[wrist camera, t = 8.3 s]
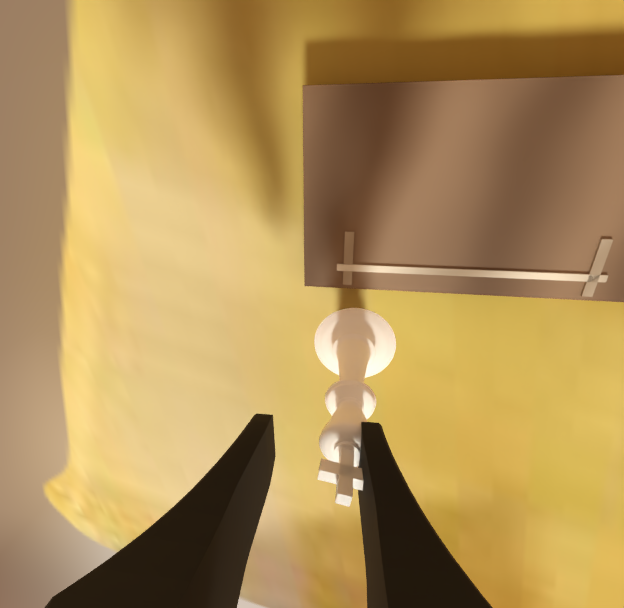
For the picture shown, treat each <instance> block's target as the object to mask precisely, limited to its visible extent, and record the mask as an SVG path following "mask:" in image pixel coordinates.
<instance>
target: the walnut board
mask: <svg viewBox="0 0 624 608" xmlns="http://www.w3.org/2000/svg"><path fill="white" fill-rule="evenodd" d="M303 156H304V266H305V286H316V287H336V288H355V289H375V290H395V291H415V292H434V293H454V294H474V295H493V296H513V297H533V298H553V299H572V300H592V301H612V302H624V75H607V76H576V77H546V78H516V79H485V80H455V81H425V82H394V83H364V84H334V85H303Z"/></svg>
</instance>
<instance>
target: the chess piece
mask: <svg viewBox="0 0 624 608" xmlns="http://www.w3.org/2000/svg"><path fill="white" fill-rule="evenodd" d="M314 343H315V350H316V353H317V355H318V357H319V359H320V361H321V362H322V363H323V364H324V365H325V366H326V367H327V368H328V369H329V370H331V371H332V372H334V373H336V374H338V375H339V380H340V381H337V382H335V383H334V384H332V385H331V386H330V387H329V388H328V390H327V392H326V395H325V403H326V406H327V409H328V411H329V412H330V414H331V415H332V418H331V419H330V421H329V422H328V423H327V424H326V426H325V427H324V429H323V431H322V433H321V435H320V439H319V445H320V449H321V451H322V453H323V455H324V456H325V457H326V458H327V459H328V460H325V459H321V462H320V467H319V472H318V480H322V481H326V482H330V483H334V484H337V487H336V498H335V503H337V504H341V505H345V506H350V503H351V500H352V494H353V488H354V489H358V490H362V491H363V474H362V468H358V467H359V461H360V449H361V422H367V420H366V419H368V418H369V417H370V416H371V415H372V413H373V411H374V409H375V407H376V397H375V394H374V392H373V391H372V389H371V388H370V387H369V386H367V385H366V384H364V379H365V378H366V377H369V376H372V375H375V374H377V373H379V372H380V371H382V370H383V369H384V368H385V367H386V366H387V365H388V364H389V363H390V362H391V360H392V358H393V356H394V353H395V349H396V340H395V335H394V332H393V330H392V328H391V327H390V325H389V324H388V323H387V322H386V320H384V319H383V318H382V317H381V316H379V315H378V314H376V313H374V312H372V311H369V310H366V309H362V308H346V309H342V310H339V311H336V312H334V313H332V314H330V315H329V316H328V317H326V318H325V319H324V320H323V321H322V322H321V324H320V325H319V327H318V329H317V331H316V334H315V341H314Z"/></svg>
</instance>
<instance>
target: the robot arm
mask: <svg viewBox="0 0 624 608" xmlns="http://www.w3.org/2000/svg"><path fill="white" fill-rule="evenodd" d="M274 461H275V442H274V426H273V415H267V414H256V415H254V416H253V418H252V419H251V421H250V422H249V423H248V425H247V426H246V427H245V429H244V430H243V431H242V433H241V434H240V435H239V436H238V438H237V439H236V440H235V442H234V443H233V444H232V445H231V446H230V448H229V449H228V450H227V451H226V452H225V454H224V455H223V456H222V457H221V458H220V460H219V461H218V462H217V463H216V464H215V465H214V466H213V467H212V468H211V470H210V471H209V472H208V473H207V474H206V475H205V476H204V477H203V478H202V479H201V480H200V481H199V482H198V483H197V484H196V485H195V486H194V488H193V489H192V490H191V491H190V492H188V493H187V494H186V495H185V496H184V497H183V498H182V499H181V500H180V501H179V502H178V503H177V504H176V505H175V506H174V507H173V508H171V509H170V510H169V511H168V512H167V513H166V514H165V515H163V516H162V517H161V518H160V519H159V520H158V521H157V522H155V523H154V524H153V525H152V526H151V527H149V528H148V529H147V530H146V531H145V532H143V533H142V534H141V535H140V536H138V537H137V538H136V539H134V540H133V541H132V542H131V543H129V544H128V545H127V546H125V547H124V548H123V549H121V550H120V551H119V552H117V553H116V554H115V555H113V556H112V557H111V558H110V559H108V560H107V561H105V562H104V563H103V564H101V565H100V566H98V567H97V568H95V569H94V570H93V571H91V572H90V573H88V574H87V575H85V576H84V577H82V578H81V579H79V580H78V581H76V582H75V583H73V584H72V585H70V586H69V587H67V588H66V589H64V590H63V591H61V592H60V593H58V594H57V595H55V596H54V597H52V599H51V600H50V601H49V603H48V604H47V605H46V607H45V608H237V604H238V599H239V595H240V590H241V585H242V581H243V576H244V572H245V567H246V564H247V560H248V556H249V552H250V549H251V546H252V542H253V539H254V536H255V533H256V529H257V526H258V523H259V519H260V516H261V513H262V510H263V506H264V503H265V500H266V496H267V493H268V489H269V486H270V482H271V477H272V472H273V466H274ZM358 468H362V474H363V491H362V490H358V495H359V505H360V515H361V525H362V535H363V545H364V555H365V564H366V579H367V608H492V606H491V605H490V604H489V603H488V602H487V600H486V599H485V598H484V597H483V596H482V594H481V593H480V592H479V590H478V589H477V588H476V587H475V585H474V584H473V583H472V581H471V580H470V579H469V577H468V576H467V575H466V573H465V572H464V571H463V569H462V568H461V567H460V566H459V564H458V563H457V562H456V560H455V559H454V558H453V556H452V555H451V553H450V552H449V551H448V549H447V548H446V546H445V545H444V543H443V542H442V541H441V539H440V538H439V536H438V535H437V533H436V532H435V530H434V529H433V527H432V526H431V524H430V522H429V521H428V519H427V518H426V516H425V514H424V513H423V511H422V510H421V508H420V506H419V505H418V503H417V501H416V499H415V498H414V496H413V494H412V492H411V491H410V489H409V487H408V485H407V483H406V481H405V479H404V477H403V475H402V473H401V471H400V469H399V467H398V465H397V463H396V461H395V459H394V457H393V455H392V452H391V450H390V448H389V445H388V443H387V440H386V438H385V435H384V432H383V429H382V426H381V425H380V424H379V423H372V422H361V449H360V461H359V467H358Z"/></svg>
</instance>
